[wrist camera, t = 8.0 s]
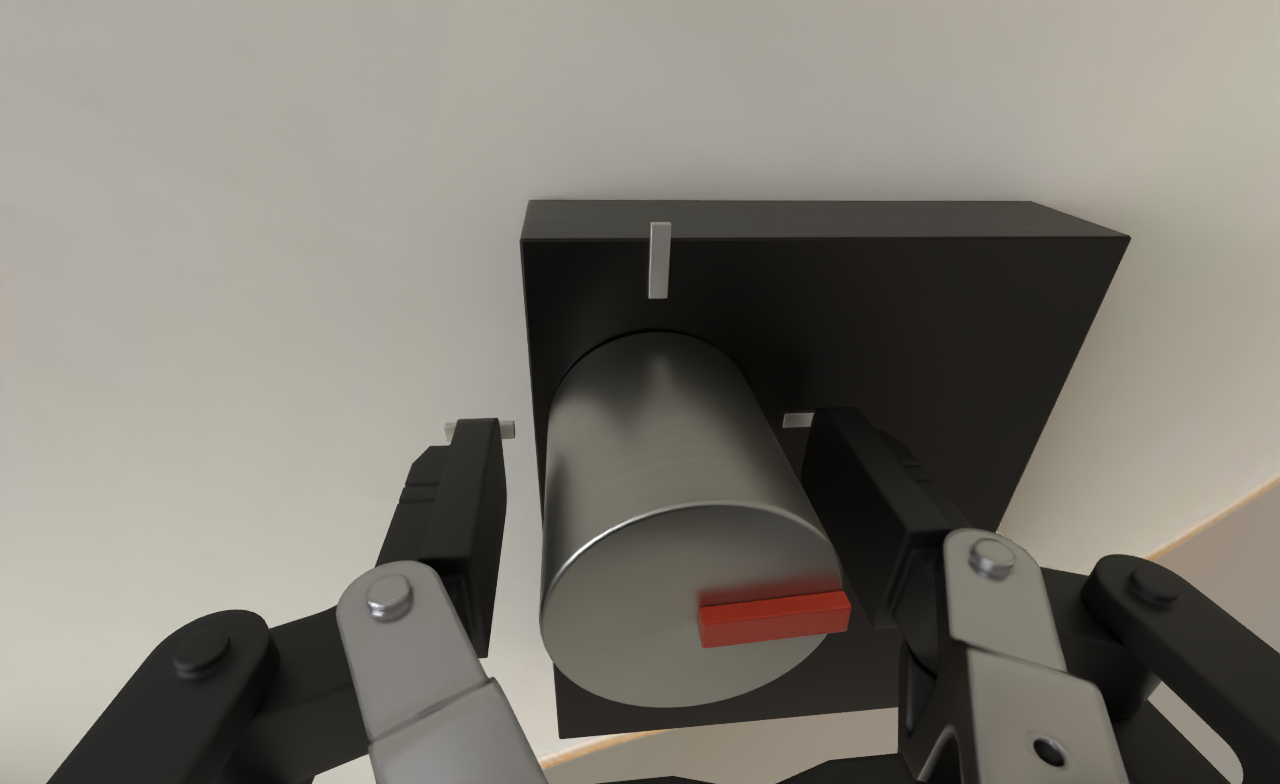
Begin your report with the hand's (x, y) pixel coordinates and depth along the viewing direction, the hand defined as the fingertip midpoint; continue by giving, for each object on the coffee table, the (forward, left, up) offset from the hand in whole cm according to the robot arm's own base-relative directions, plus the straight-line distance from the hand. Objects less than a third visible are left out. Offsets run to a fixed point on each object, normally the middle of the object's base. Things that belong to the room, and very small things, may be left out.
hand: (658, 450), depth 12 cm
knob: (0, 0, -1) cm, 1 cm away
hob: (+4, +3, -4) cm, 7 cm away
